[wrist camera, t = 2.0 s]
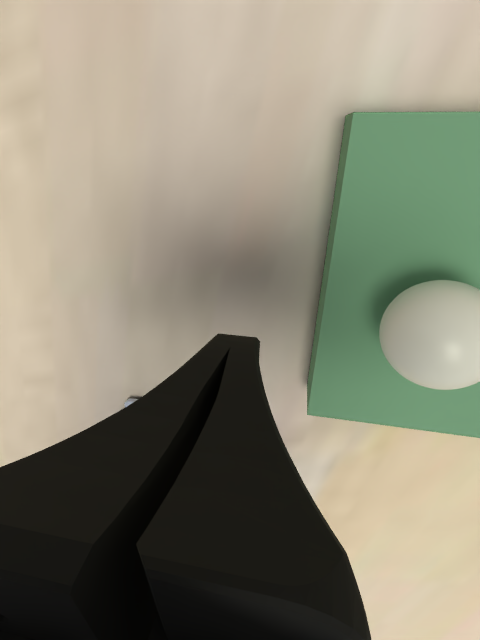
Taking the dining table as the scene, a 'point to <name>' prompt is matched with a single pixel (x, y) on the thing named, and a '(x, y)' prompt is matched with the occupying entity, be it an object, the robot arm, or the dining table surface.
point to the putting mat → (395, 262)
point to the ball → (434, 334)
